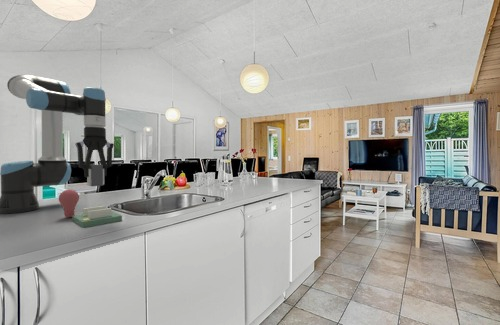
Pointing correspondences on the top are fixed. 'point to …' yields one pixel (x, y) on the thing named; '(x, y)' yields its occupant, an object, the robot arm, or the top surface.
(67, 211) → the light bulb
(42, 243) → the top surface
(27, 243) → the top surface
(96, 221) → the board
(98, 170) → the dark gray block
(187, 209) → the top surface
